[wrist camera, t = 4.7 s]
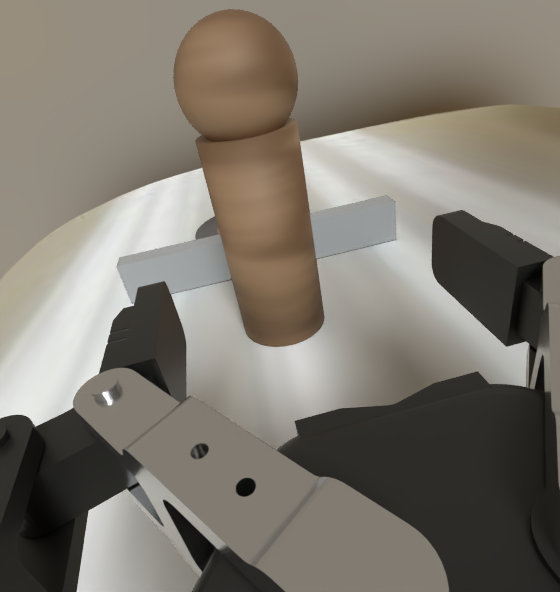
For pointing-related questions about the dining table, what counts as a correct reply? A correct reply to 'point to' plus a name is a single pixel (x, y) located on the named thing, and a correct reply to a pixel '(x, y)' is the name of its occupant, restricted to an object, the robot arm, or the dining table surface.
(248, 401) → the dining table surface
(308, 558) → the robot arm
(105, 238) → the dining table surface
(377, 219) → the low wall
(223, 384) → the dining table surface
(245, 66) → the skittle
